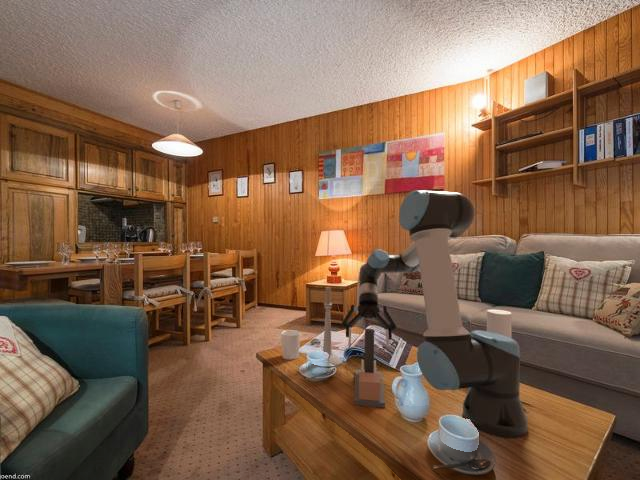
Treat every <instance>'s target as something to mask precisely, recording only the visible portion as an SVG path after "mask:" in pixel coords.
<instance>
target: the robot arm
mask: <svg viewBox="0 0 640 480" xmlns="http://www.w3.org/2000/svg"><path fill="white" fill-rule="evenodd" d="M398 211H399V212H398V213H399V214H398V221H399V225H400V226H401V228H402V229H403V230H405V231H408V233H409V239H410V240H411V241H412V243H411V244H409V246H408V247H407V248H406V249H404V251H403V252H401V253H400V254H389V253H388V252H387V251H385V250H383V249H380V248H377V249H374V250H373V251H372V252H371V253H370V255H369V256H368V258H367V260H366V263H364V264H362V265H361V266H360V269H359V272H358V273H359V274H358V275H359V286H358V287H359V289H358V290H359V291H358V296H359V297H358V306H355V305H354V304H351V306H350V310H349V311H348V313H347V314H346V316H345V318H344V319H343V320H342V321H341V328H342V329H345V338H348V341H347V342H348V347H349V348H351V347H352V346H351V345H352V328H353V326H355V325H356V323H358V322H359V321H360V320H361V319H362V318H364V319H371V320H372V319H375V321H377V322H378V323H379V324H380V325H381V326H382V327H383V328H384V330H385V343H386V350H390V341H391V340H392V338H393V337H392V336H393V333H392V332H396V331H397V325H396V323H395V322H394V320H393V318H392V317H391V315H390V313H389V312H388V311H387V306H385V305H384V306H383V307H379V297H378V295H379V294H378V291H379V289H378V281H379V278H380V277H381V276H382V274H399V273H400V274H401V273H402V274H404V273H405V274H411V273H416V272H418V270H419V271H420V280H421V286H422V294H423V300H424V308H425V314H426V321H427V322H426V323H427V327H428V328H427V330H425V331H424V333H423V334H422V335H423V342H422V343H420V344H419V345H418V347H417V351H416V360H417V365H418V367H419V369H420V372H421V373H422V376H423V377H424V379H425V380H426V382H427V384H429V385H430V386H431V387H433V388H434V389H436V390H438V391H453V392H454V391H458V390H459V389H460V390H461V389H468V390H467V392H466V395H465V398H464V400H463V403H462V416H463V418H464V419H465V418H467V419H470V420H471V422H472V423H473V424H474V425H475V426H476V427H477V429H479V430H481V431H482V432H485V433H488V434H491V435H494V436H497V437H502V438H519V437H522V436H525V435H526V434H527V432H528V419H527V418H528V417H527V416H526V415H527V414H526V412H525V410H524V406H523V404H522V401H521V398H520V386H521V385H520V382H521V381H520V377H521V374H520V373H521V370H520V369H521V357H522V356H521V354H520V353H521V352H520V344H519V343H518V342H517V340H515V339H514V338H512V337H511V338H509V337H507V336H504V335H500V334H496V333H492V332H487V330H478V329H476V330H472V331H471V332H470V331H468V330H467V329H466V328H465V327H464V326H463V322H462V316H461V310H460V304H459V299H458V292H457V286H456V280H455V273H454V270H453V263H452V256H451V252H450V246H449V241H450V240H452V239H456V238H458V237H461V235H463V234H464V233H465V232H467V230H468V229H469V228H470V227H471V226H472V224H473V222H474V219H475V214H476V213H475V207H474V204H473V202H472V201H471V200H470V199H469V198H468V197H467V196H466V195H465V194H462V193H461V192H460V193H459V192H456V191H455V192H454V191H436V190H427V189H422V190H417V189H416V190H412V191H410V192H408V193H407V194H406V195H405V196H404V197H403V199H402V202H401V204H400V208H399V210H398ZM356 311H358V312H357V314H356V315H354V313H355V312H356ZM379 312H380V313H381V314H382V315H383V317H384V318H383V317H382V316H381V315H380V313H379ZM353 315H354V316H353ZM352 316H353V318H352ZM351 318H352V319H351ZM475 426H474V427H475ZM476 427H475V428H476Z"/></svg>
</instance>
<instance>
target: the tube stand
mask: <svg viewBox="0 0 640 480" xmlns="http://www.w3.org/2000/svg"><path fill="white" fill-rule="evenodd" d="M364 367H365V359H361V367H360V368H361V369H355V378H354V379H355V380H354V381H355V383H354V394H353V405H355V406H364V407H365V406H366V407H378V408H386V400H385V392H384V384H383V377H382V375H383V374H382V371H377V360H376V359H374V373H367V372H364Z"/></svg>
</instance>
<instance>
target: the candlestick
mask: <svg viewBox="0 0 640 480" xmlns="http://www.w3.org/2000/svg"><path fill="white" fill-rule="evenodd" d="M331 289H332V288H331V287H330V286H326V287H325V302H324V303H323V305H324V309H325V313H324V314H325V315H324V316H325V317H324V331H323V346H322V347H323V349H322V352H323V351H324V352H327V353H328V354H329V356H330V358H329V361H330V363H331V364H332V365H335V366H336V367H338V366H337V365H339V364H341V363H342V362H343V363H344V360H343V361H342V360H341V359H340V358H339V357H338V356H337V355H336V354H337V353H336V354H335V352H333V351H332V348H333V347H332V328H331V327H332V324H331V318H332V317H331V309H332V305H333V303H332V301H331V298H332V297H331V296H332V295H331V293H332V292H331ZM343 363H342V364H343ZM342 364H341V365H342ZM339 366H340V365H339Z"/></svg>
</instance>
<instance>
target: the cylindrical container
mask: <svg viewBox="0 0 640 480" xmlns="http://www.w3.org/2000/svg"><path fill="white" fill-rule="evenodd" d="M512 317H513V314H512V312H510V311H508V310H503V309H492V308H491V309H486V331H487V332H492V333H496V334H500V335H504V336H507V337H509V338H512V332H513V329H512V324H513V323H512V321H513V320H512Z"/></svg>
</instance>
